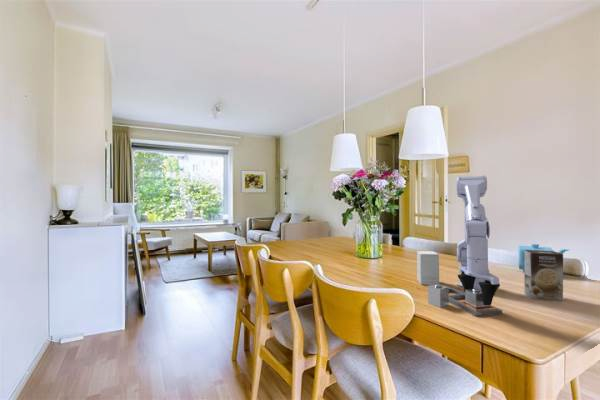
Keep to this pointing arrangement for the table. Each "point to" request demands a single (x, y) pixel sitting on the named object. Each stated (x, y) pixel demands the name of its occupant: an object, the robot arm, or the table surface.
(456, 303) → the grey compartment tray
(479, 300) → the grey rectangular block
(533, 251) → the coffee box
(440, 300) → the grey upright block
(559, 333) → the table surface
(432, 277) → the supplement box
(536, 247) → the teapot
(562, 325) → the table surface
